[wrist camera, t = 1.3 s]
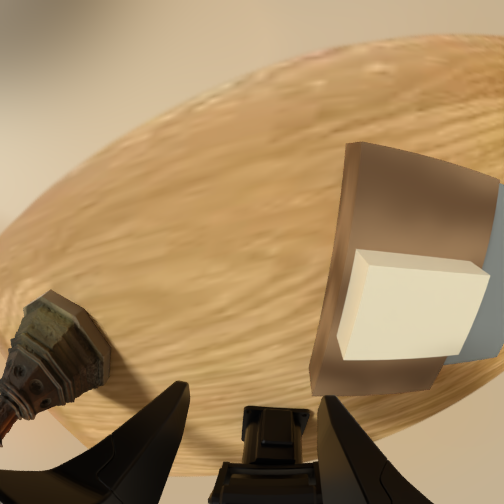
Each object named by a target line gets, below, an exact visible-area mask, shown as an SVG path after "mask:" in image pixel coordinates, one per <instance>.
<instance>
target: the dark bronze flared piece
mask: <svg viewBox="0 0 504 504" xmlns="http://www.w3.org/2000/svg"><path fill="white" fill-rule="evenodd" d="M23 311H24V318H23V319H22V321H21V325H20V326H19V329H18V332H16V334H15V338H13V339H11V346H12V348H9V349H8V351H9V355H8V359H7V362H6V367H5V370H4V374H3V376H2V378H1V379H0V394H1V395H0V447H3V446H2V439H3V438H4V437H5V435H6V433H8V432H9V431H10V429H11V427H12V426H13V424H14V423H15V422H16V421H17V419H19V420H21V419H22V418H24V419H26V420H30V419H31V420H34V419H35V416H36V414H37V413H39V412H42V411H44V410H47V409H49V408H51V407H54V406H56V405H58V406H61V405H62V406H63V405H64V406H65V404H66V403H69V402H74V400H75V398H77V397H79V396H81V395H82V394H83V393H84V392H87V391H88V390H91V389H93V388H94V389H96V388H98V387H99V386H103V385H104V384H105V382H106V381H107V379H108V378H109V373H110V354H111V347H110V346H109V345H108V343H107V342H106V341H105V339H104V338H103V336H102V335H101V333H100V332H99V331H98V329H97V328H96V326H95V325H94V323H93V322H92V320H91V319H90V317H89V316H88V314H87V313H86V311H85V310H84V308H82V307H80V306H78V305H77V304H75V303H73V302H71V301H69V300H68V299H66V298H64V297H62V296H61V295H59V294H57V293H55V292H54V291H52V290H49V291H48V292H46V293H44V294H43V295H41V296H40V297H38V298H36V299H35V300H33V301H32V302H30V303H29V304H28V305H27V306H25V307H24V308H23Z"/></svg>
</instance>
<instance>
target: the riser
mask: <svg viewBox="0 0 504 504" xmlns="http://www.w3.org/2000/svg"><path fill="white" fill-rule="evenodd" d="M499 184H500V180H499V179H497V178H494V177H491V176H489V175H486V174H483V173H480V172H477V171H474V170H471V169H468V168H465V167H462V166H459V165H456V164H453V163H449V162H446V161H442V160H439V159H435V158H432V157H428V156H424V155H420V154H417V153H413V152H408V151H404V150H400V149H395V148H391V147H386V146H381V145H377V144H371V143H366V142H355V143H348V144H346V150H345V161H344V171H343V181H342V189H341V198H340V206H339V213H338V220H337V227H336V234H335V241H334V247H333V253H332V259H331V265H330V271H329V276H328V282H327V287H326V292H325V297H324V302H323V307H322V312H321V317H320V322H319V326H318V331H317V335H316V339H315V344H314V348H313V352H312V356H311V360H310V364H309V373H310V382H311V391H312V396H324V395H335V396H365V395H382V394H395V393H405V392H415V391H423V390H430V388H431V386H432V385H433V383H434V381H435V379H436V378H437V376H438V374H439V372H440V370H441V368H442V366H443V364H444V362H445V360H446V358H447V356H440V357H428V358H414V359H393V360H343V357H342V353H341V350H340V346H339V343H338V339H337V332H338V328H339V325H340V321H341V317H342V313H343V309H344V304H345V300H346V296H347V291H348V287H349V282H350V278H351V273H352V268H353V263H354V258H355V252H356V249H361V250H371V251H381V252H391V253H400V254H410V255H419V256H428V257H438V258H447V259H455V260H464V261H471V262H472V263H474V264H475V265H476V266H478V267H479V268H481V269H482V266H483V263H484V259H485V256H486V252H487V248H488V244H489V240H490V235H491V231H492V226H493V221H494V216H495V211H496V205H497V198H498V191H499Z"/></svg>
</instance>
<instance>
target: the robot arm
mask: <svg viewBox="0 0 504 504" xmlns="http://www.w3.org/2000/svg"><path fill="white" fill-rule="evenodd" d="M189 404H190V391H189V384H188V383H187V382H183V381H175V382H174V383H173V384H172V385H171V386H169V387H168V388H167V389H166V390H165V391H164V392H162V393H161V394H160V395H159V396H157V397H156V398H155V399H154V400H153V401H151V402H150V403H149V404H148V405H147V406H145V407H144V408H143V409H142V410H140V411H139V412H138V413H137V414H135V415H134V416H133V417H132V418H130V419H129V420H128V421H127V422H125V423H124V424H123V425H122V426H120V427H119V428H118V429H116V430H115V431H114V432H113V433H112V435H111V434H110V435H109V436H107V437H106V438H105V439H103V440H102V441H101V442H99V443H98V444H96V445H95V446H93V447H92V448H90V449H89V450H87V451H85V452H84V453H82V454H80V455H78V456H77V457H75V458H73V459H71V460H69V461H67V462H65V463H63V464H61V465H60V466H58V467H55V468H53V469H50V470H45V471H13V470H0V504H158V503H159V500H160V497H161V495H162V492H163V489H164V486H165V484H166V481H167V478H168V475H169V473H170V470H171V467H172V464H173V462H174V459H175V456H176V453H177V451H178V448H179V445H180V442H181V439H182V436H183V432H184V427H185V422H186V418H187V413H188V409H189ZM309 415H310V414H309V410H305V409H281V408H266V407H254V406H246V407H245V408H244V415H243V427H242V438H241V439H242V441H244V450H243V457H242V464H241V463H230V462H223V466H222V468H220V469H219V474H218V477H217V480H216V483H215V486H214V489H213V491H212V493H211V494H210V497H209V498H208V503H209V504H434V503H432V502H431V501H430V500H428V499H427V498H426V497H425V496H424V495H423V494H422V493H420V492H419V491H418V490H417V489H416V488H415V487H414V486H413V485H411V484H410V483H409V482H408V481H407V480H406V479H405V478H404V477H403V476H402V475H401V474H400V473H399V472H398V471H397V469H396V468H395V467H394V466H393V465H392V464H391V462H390V461H389V460H387V458H386V457H385V456H384V454H383V453H382V452H381V451H380V449H379V448H378V447H377V446H376V445H375V444H374V442H373V441H372V440H371V439H370V437H369V436H368V435H367V434H366V432H365V431H364V430H363V429H362V428H361V426H360V425H359V424H358V423H357V421H356V420H355V419H354V418H353V416H352V415H351V414H350V413H349V412H348V410H347V409H346V408H345V407H344V405H343V404H342V403H341V402H340V400H339V399H338V398H337V397H336V396H335V395H324V396H323V397H322V400H321V403H320V406H319V408H318V414H317V452H318V461H317V462H313V463H302V438H301V437H302V435H303V432H304V429H305V427H306V424H307V421H308V418H309Z"/></svg>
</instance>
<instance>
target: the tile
mask: <svg viewBox="0 0 504 504" xmlns="http://www.w3.org/2000/svg"><path fill="white" fill-rule="evenodd" d="M489 278H490V275H489V274H488V273H486V272H485V271H483V270H482V269H481V268H479V267H478V266H476V265H475V264H474V263H472V262H471V261H464V260H455V259H447V258H438V257H428V256H419V255H410V254H400V253H391V252H381V251H371V250H361V249H356V252H355V258H354V263H353V268H352V273H351V278H350V282H349V287H348V291H347V296H346V300H345V304H344V309H343V313H342V317H341V321H340V325H339V328H338V332H337V339H338V343H339V346H340V350H341V353H342V357H343V360H393V359H414V358H428V357H440V356H450V355H459V353H460V351H461V349H462V347H463V344H464V342H465V340H466V338H467V336H468V334H469V331H470V329H471V327H472V324H473V322H474V320H475V317H476V315H477V312H478V310H479V307H480V304H481V302H482V299H483V296H484V293H485V291H486V288H487V285H488V282H489Z"/></svg>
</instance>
